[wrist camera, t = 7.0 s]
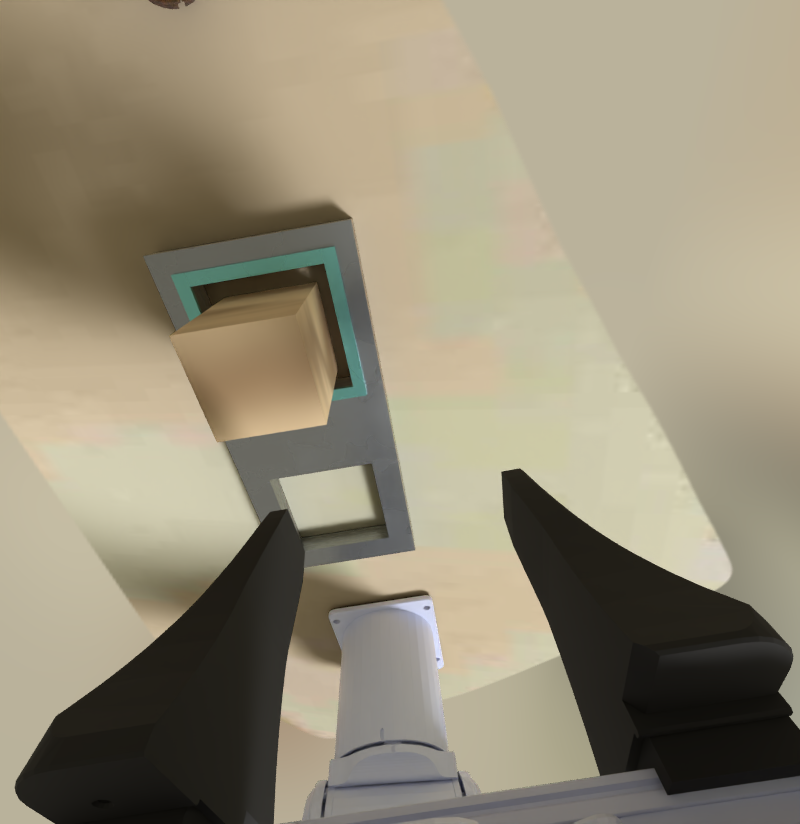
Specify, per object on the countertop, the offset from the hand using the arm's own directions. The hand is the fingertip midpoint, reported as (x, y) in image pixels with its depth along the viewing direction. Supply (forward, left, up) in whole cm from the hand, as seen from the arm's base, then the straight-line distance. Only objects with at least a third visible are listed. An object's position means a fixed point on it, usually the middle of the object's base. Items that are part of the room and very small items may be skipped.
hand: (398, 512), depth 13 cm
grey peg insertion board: (-1, +5, -10) cm, 11 cm away
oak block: (+4, +5, -10) cm, 12 cm away
